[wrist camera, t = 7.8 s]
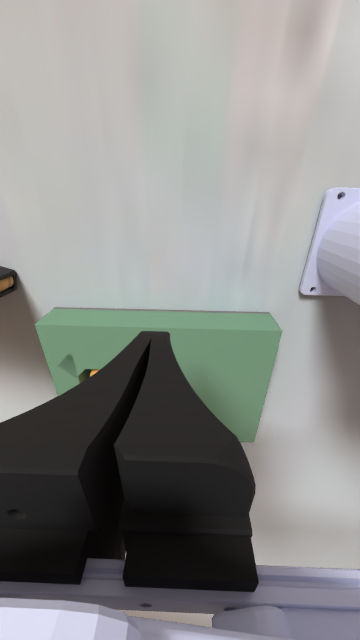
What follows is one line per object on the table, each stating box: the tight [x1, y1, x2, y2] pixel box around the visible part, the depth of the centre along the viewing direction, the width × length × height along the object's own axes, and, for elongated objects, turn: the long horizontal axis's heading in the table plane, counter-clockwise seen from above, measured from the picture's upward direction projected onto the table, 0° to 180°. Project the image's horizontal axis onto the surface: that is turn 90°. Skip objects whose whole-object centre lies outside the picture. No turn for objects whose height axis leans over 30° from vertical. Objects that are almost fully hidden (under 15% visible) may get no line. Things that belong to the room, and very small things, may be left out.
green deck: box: [35, 307, 282, 442], centre depth 23 cm, size 20×14×3 cm
